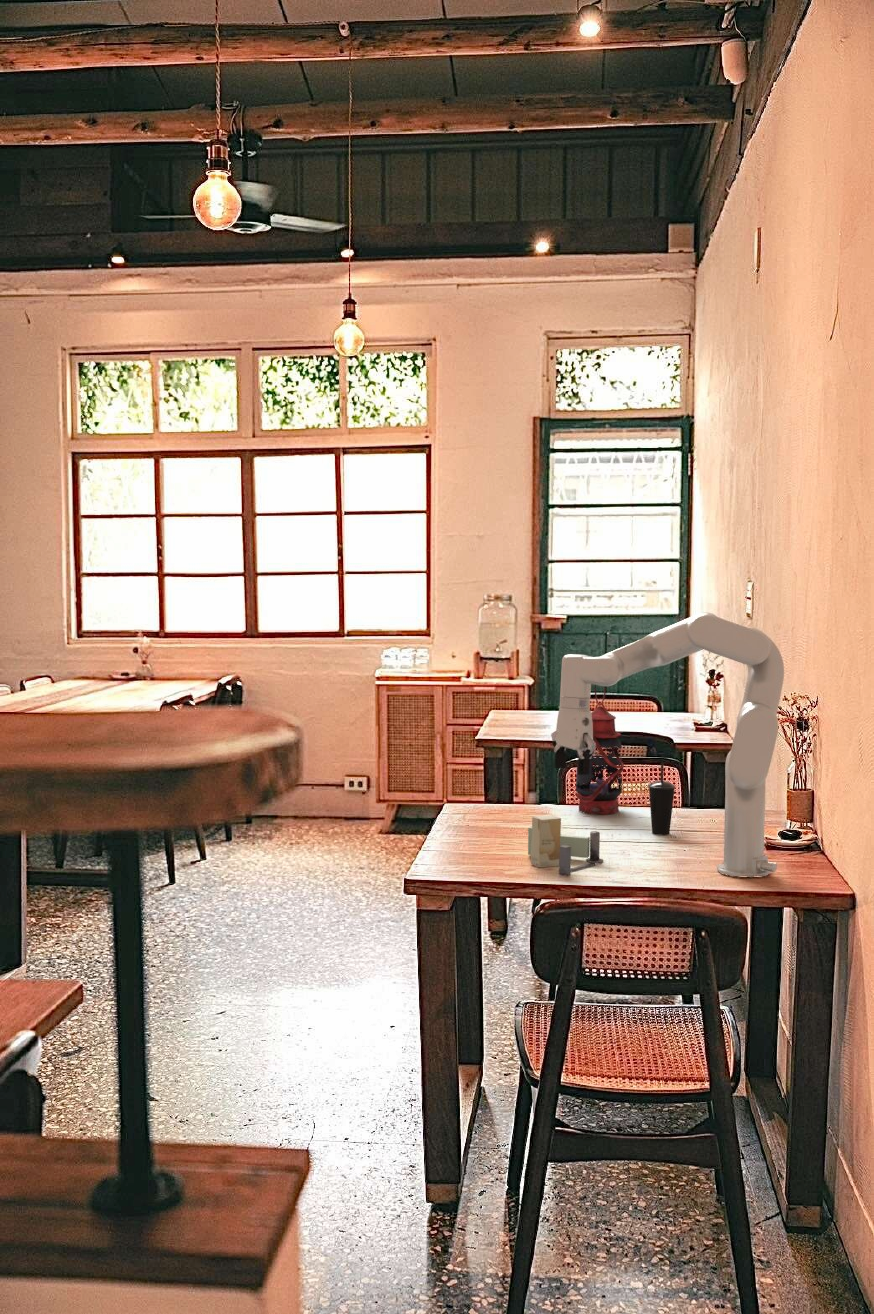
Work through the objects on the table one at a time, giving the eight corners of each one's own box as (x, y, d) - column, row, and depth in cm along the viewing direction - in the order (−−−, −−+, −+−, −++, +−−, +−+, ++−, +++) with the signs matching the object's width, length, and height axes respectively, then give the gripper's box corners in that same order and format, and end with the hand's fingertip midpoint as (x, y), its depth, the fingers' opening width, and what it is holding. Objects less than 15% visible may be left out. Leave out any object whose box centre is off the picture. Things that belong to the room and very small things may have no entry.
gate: (589, 857, 310) (589, 830, 310) (587, 860, 308) (587, 832, 308) (530, 852, 316) (531, 826, 315) (528, 854, 314) (528, 827, 313)
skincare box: (539, 868, 301) (539, 819, 300) (530, 864, 305) (530, 816, 304) (561, 865, 304) (561, 817, 303) (551, 862, 308) (552, 814, 307)
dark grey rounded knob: (606, 861, 309) (607, 832, 308) (595, 864, 306) (596, 835, 305) (593, 858, 312) (593, 829, 311) (582, 861, 309) (582, 832, 308)
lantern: (583, 804, 384) (585, 662, 381) (628, 808, 378) (631, 664, 375) (569, 813, 369) (571, 666, 366) (616, 817, 364) (618, 668, 361)
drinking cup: (674, 837, 338) (676, 765, 336) (646, 835, 339) (648, 764, 338) (674, 831, 345) (676, 761, 344) (647, 830, 347) (648, 760, 345)
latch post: (601, 866, 303) (601, 839, 303) (565, 876, 294) (565, 847, 293) (592, 864, 305) (592, 837, 305) (556, 874, 296) (556, 845, 295)
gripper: (608, 707, 299) (604, 776, 300) (566, 699, 314) (563, 764, 315) (583, 708, 295) (580, 778, 296) (542, 699, 310) (539, 766, 311)
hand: (571, 771), depth 306 cm, fingers open, 9 cm apart
